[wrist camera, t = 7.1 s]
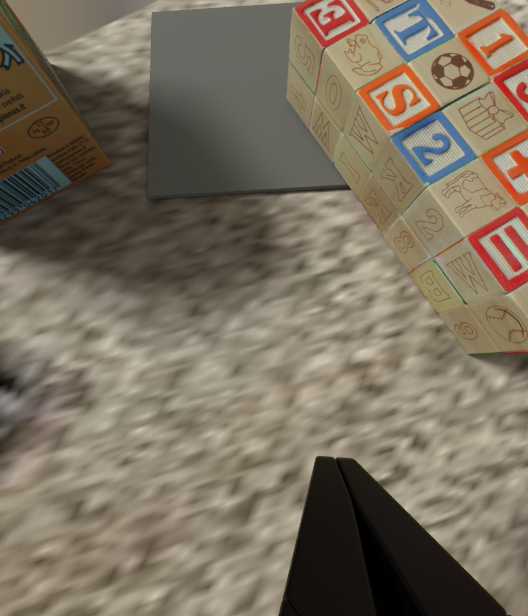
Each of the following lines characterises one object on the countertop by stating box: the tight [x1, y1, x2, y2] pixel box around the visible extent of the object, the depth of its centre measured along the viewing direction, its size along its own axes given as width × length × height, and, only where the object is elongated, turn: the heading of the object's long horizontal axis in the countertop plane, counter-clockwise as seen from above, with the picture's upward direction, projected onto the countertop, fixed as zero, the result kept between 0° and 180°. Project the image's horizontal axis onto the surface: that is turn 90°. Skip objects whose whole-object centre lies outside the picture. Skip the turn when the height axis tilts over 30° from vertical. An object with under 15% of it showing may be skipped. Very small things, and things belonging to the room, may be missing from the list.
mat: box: [147, 2, 349, 199], centre depth 24 cm, size 16×24×1 cm, turn 93°
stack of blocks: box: [287, 0, 528, 354], centre depth 19 cm, size 21×6×12 cm
